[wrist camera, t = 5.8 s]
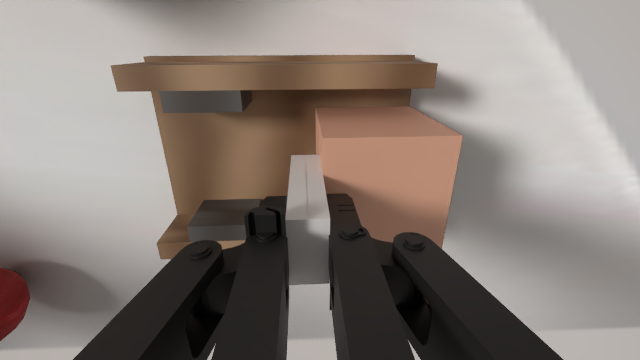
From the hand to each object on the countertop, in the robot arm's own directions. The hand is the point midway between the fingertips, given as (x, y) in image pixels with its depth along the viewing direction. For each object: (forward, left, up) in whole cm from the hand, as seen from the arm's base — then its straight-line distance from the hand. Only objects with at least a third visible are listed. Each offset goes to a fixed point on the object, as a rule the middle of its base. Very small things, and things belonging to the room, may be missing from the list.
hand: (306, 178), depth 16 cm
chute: (-1, 0, -6) cm, 6 cm away
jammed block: (+4, 0, -4) cm, 6 cm away
